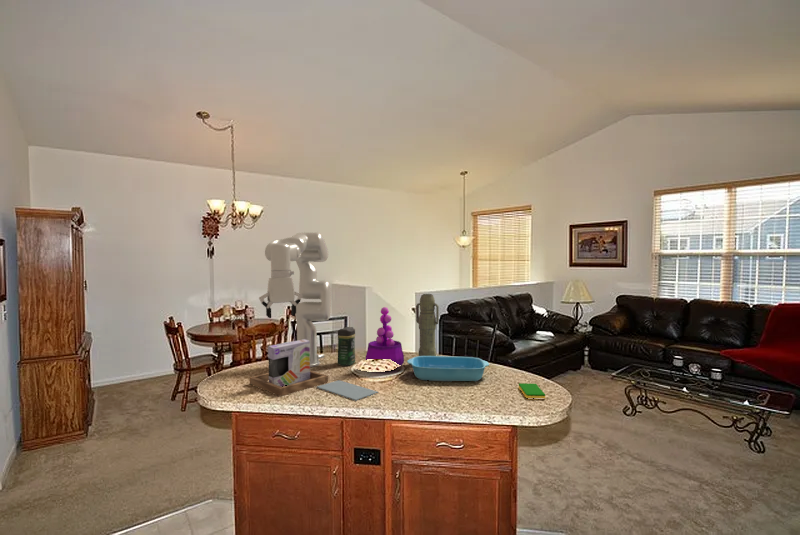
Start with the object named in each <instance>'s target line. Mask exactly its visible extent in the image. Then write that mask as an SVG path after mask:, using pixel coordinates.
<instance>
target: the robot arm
mask: <svg viewBox="0 0 800 535" xmlns="http://www.w3.org/2000/svg"><path fill="white" fill-rule="evenodd" d="M328 250H329V249H328V247H327V244H326V242H325V239H324V237H323V235H322V234H321V233H319V232H305V231H304V232H298V233H296V234H294V235H292V236H291V237H285V238H281V239H277V240H276V239H275V240H272V241H270V242H269V243H267V245H266V246H265V249H264V256H265V258H266V260H267V261H270V277H269V278H268V280H267V281H268V283H267V292H266V293H264V294H262V295H260V296H259V297H258V300H259V301H260V303H261V305H263V307H265V313H266V314H265V315H266V317H267V318H268V319H271V318H272V308H271V307H272V305H273V304H281V303H282V304H283V303H290V304H291V306H290V314H291V316H293V317H295V321H296V341H298V340H303V339H305V340H308V341H310V368H313V367H317V366H319V365H320V364H321V361H320V359H324V358H325V354H323V353H321V354H318V353H317V350H318V349H317V346H318V345H317V328H316V326H315V324H314V322H325V321H328V320H329V319H330V318H331V313H332V312H331V307H332V287H331V283H330V282H329V281H328V280H317V277H318V275H317V274H318V271H317V269H316V267H315V266H314V265H313V263H325V262H326V261H327V260H328V257H329V251H328ZM291 262H295V263H296V265H297V267H298V270H299V283H298V285H299V287H298V292H297V291H295V287H294V281H293V277H292V275H295V272H294V270H292V269H291ZM296 297H297V298H296ZM295 298H296V300H295ZM265 299H267V302H266V301H265ZM302 299H303V300H320V301H301V300H302Z"/></svg>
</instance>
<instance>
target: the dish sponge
mask: <svg viewBox="0 0 800 535" xmlns="http://www.w3.org/2000/svg"><path fill="white" fill-rule="evenodd" d="M518 389H519V391H520V390H521V391H522V392H521V391H520V392H521V393H523V394H524V395H525V396H524V395H523V394H522V395H523V396H524V398H525V397H526V398H545V399H546V394H545V392H544V391H543V390H542V389H541V388H540V386H538V384H537V383H522V382H521V383H518ZM526 398H525V399H526Z"/></svg>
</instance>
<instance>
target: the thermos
mask: <svg viewBox="0 0 800 535" xmlns="http://www.w3.org/2000/svg"><path fill="white" fill-rule="evenodd" d="M434 296H435V295H433V294H432V293H423V294H421V295H420V299H419V302H418V303H416V306H415V317H416V318H415V320H416V324H418V330H419V348H418V356H437V349H436V328H437V325H439V322H440V321H439V315H440V314H439V311H440V310H439V309H440V307H439V305H438V304H437V303H436V302H435V301H436V300H435V297H434ZM435 307H436V308H435ZM435 310H436V311H435ZM435 312H436V314H435Z"/></svg>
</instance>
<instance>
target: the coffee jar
mask: <svg viewBox="0 0 800 535" xmlns="http://www.w3.org/2000/svg"><path fill="white" fill-rule="evenodd" d="M355 342H356V329H355V328H354V327H353V326H351V327H350V326H345V327H343V328H340V329H339V330H337V365H339V366H341V367H346V366H351V365H354V364H355V363H356V350H355V349H356V345H355Z"/></svg>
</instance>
